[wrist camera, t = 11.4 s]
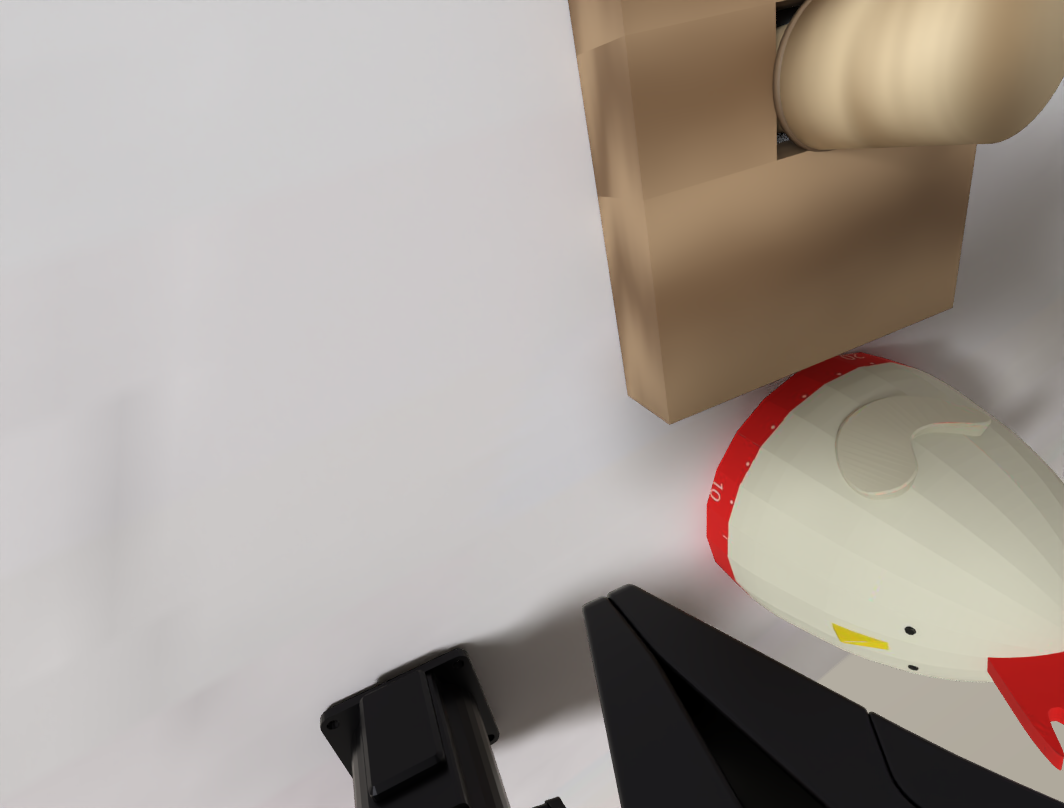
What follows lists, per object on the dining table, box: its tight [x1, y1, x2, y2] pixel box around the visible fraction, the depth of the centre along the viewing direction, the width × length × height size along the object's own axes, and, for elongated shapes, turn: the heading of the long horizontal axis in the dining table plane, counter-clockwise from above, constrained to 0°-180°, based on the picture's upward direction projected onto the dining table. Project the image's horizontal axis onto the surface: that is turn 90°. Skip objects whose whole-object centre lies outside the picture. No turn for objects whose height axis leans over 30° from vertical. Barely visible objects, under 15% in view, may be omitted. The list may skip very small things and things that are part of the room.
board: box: [568, 0, 977, 425], centre depth 19 cm, size 16×14×3 cm
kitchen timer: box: [707, 352, 1064, 770], centre depth 23 cm, size 14×14×15 cm
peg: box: [772, 0, 1064, 152], centre depth 16 cm, size 4×4×8 cm
